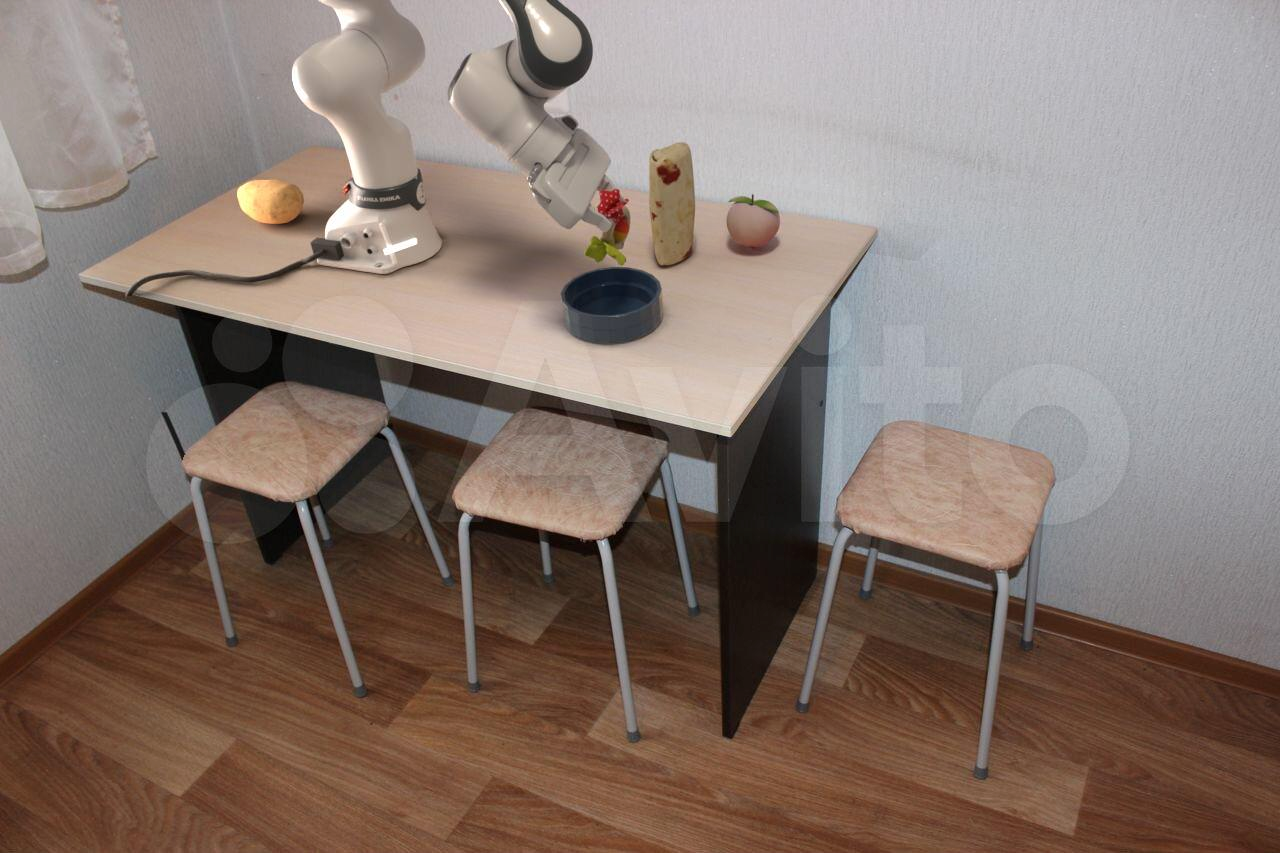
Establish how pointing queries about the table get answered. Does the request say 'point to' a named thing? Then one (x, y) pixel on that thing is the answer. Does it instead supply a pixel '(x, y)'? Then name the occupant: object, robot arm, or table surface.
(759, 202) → the decorative fruit
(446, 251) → the table surface
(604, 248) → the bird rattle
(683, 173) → the food model
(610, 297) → the bowl
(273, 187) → the potato
